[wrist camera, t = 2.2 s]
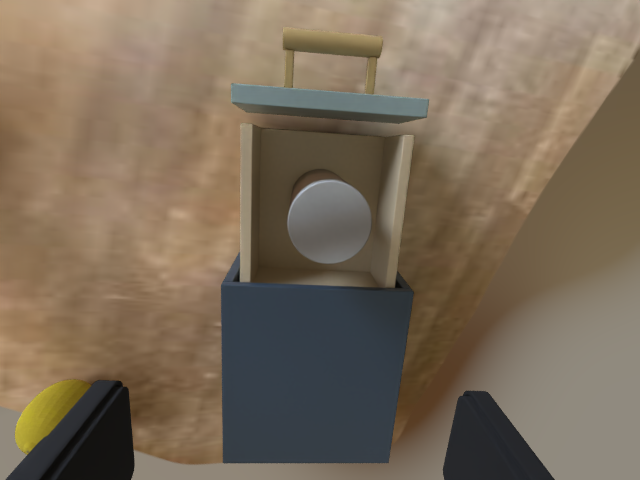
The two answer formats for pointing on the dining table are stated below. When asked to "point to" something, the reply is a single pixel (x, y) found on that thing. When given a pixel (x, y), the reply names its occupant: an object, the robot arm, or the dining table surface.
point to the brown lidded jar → (327, 217)
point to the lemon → (47, 412)
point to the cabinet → (311, 370)
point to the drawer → (322, 153)
